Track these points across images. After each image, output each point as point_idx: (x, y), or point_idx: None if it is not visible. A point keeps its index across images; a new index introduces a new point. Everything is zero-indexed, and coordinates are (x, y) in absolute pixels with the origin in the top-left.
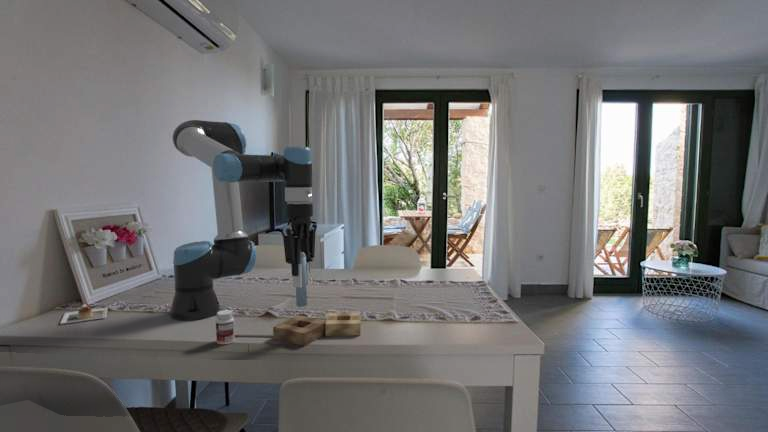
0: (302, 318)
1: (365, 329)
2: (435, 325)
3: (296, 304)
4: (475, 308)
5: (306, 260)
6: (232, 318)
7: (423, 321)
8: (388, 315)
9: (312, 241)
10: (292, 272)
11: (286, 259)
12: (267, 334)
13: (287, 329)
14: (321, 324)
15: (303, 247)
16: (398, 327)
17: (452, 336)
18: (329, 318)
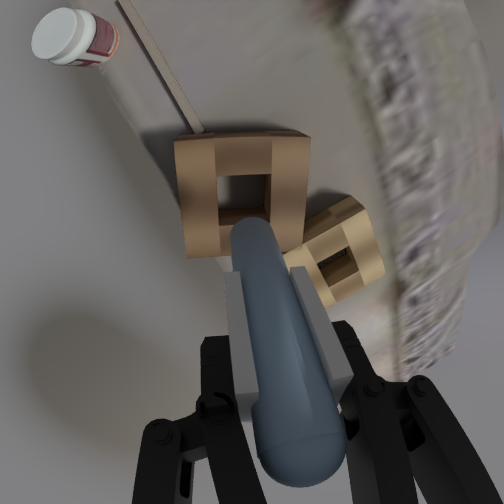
0: (290, 170)
1: None
2: (382, 347)
3: (233, 228)
4: (445, 342)
5: (342, 409)
6: (76, 50)
7: (397, 330)
8: (422, 275)
9: (425, 499)
10: (202, 360)
11: (144, 450)
12: (185, 103)
13: (181, 198)
14: None
15: (362, 495)
16: (365, 320)
17: None
18: (323, 240)
